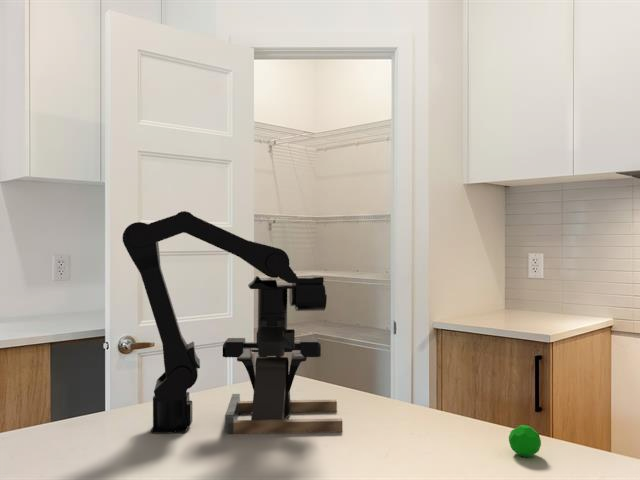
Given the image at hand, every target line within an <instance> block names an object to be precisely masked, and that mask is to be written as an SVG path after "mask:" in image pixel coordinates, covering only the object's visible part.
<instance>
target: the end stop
mask: <svg viewBox="0 0 640 480" xmlns="http://www.w3.org/2000/svg"><path fill="white" fill-rule="evenodd" d="M240 401H241V394H240V393H232V394H231V397H230V401H229V404H228V407H227V408H226V411H225V415H224V417H225V418H224V425H225V427H224V429H225V430H224V431H225V432H224V433H225V435H235V434H234V430H233V431H232V432H231V433H229V432H228V431H230V430H232V429H234V426H233V428H231V427H232V426H231V427H230V428H229V429H228V427H229V426H228V424H229V423H231V424H230V425H234V420H238V419H239V415H240V413H239V402H240ZM232 423H233V424H232ZM228 433H229V434H228ZM232 433H233V434H232Z"/></svg>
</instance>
